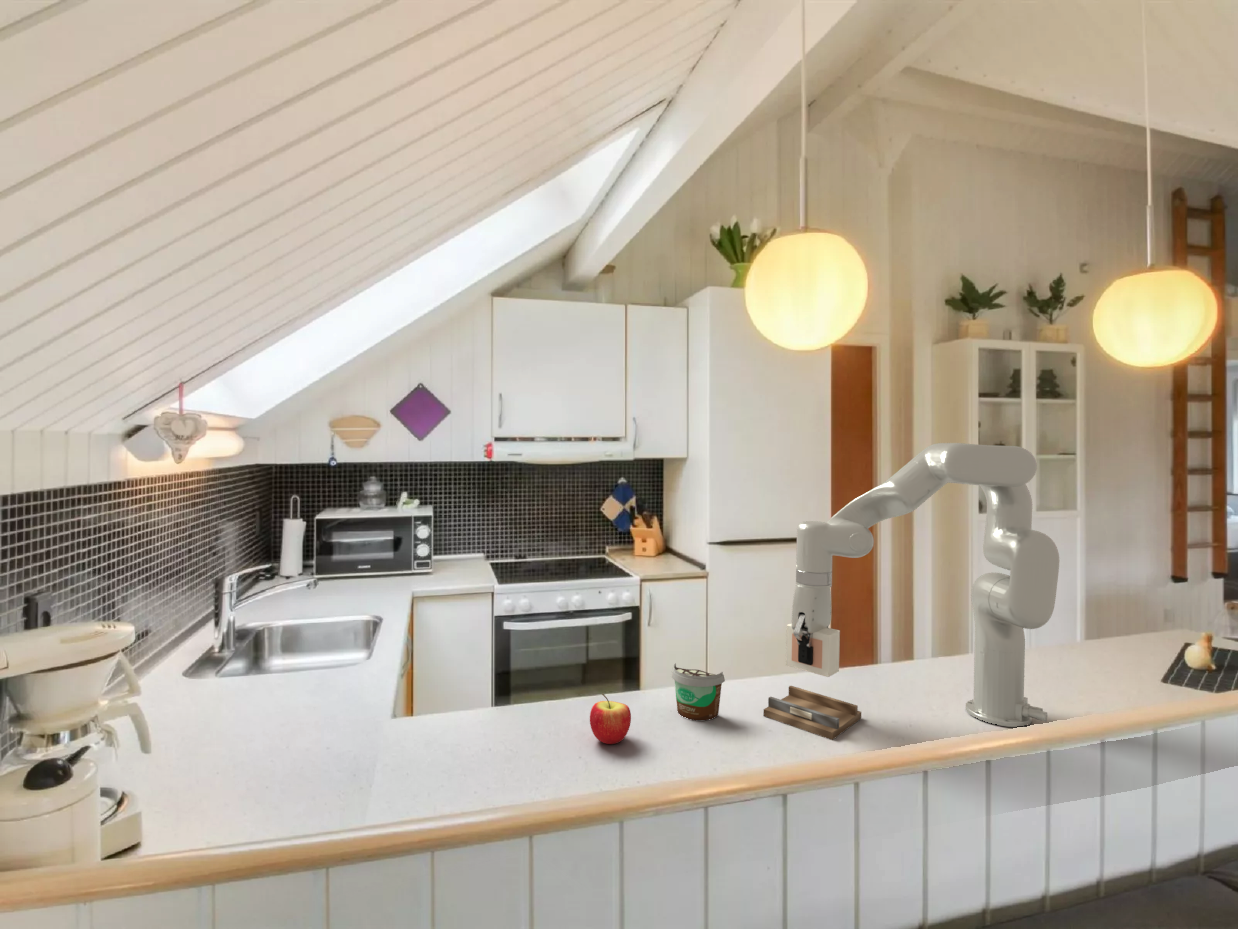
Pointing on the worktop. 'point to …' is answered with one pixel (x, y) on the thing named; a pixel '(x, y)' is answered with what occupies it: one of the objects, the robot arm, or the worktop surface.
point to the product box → (816, 651)
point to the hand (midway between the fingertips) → (811, 659)
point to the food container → (697, 693)
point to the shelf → (813, 712)
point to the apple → (610, 721)
